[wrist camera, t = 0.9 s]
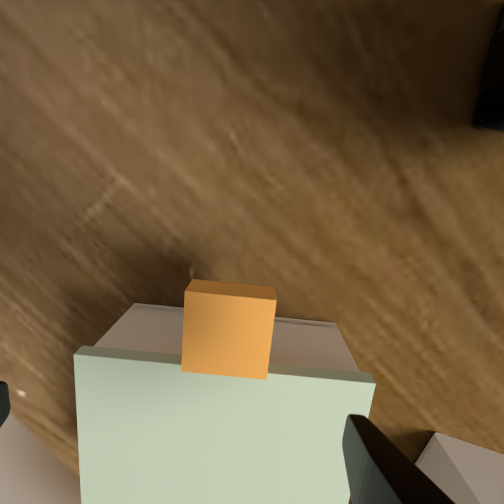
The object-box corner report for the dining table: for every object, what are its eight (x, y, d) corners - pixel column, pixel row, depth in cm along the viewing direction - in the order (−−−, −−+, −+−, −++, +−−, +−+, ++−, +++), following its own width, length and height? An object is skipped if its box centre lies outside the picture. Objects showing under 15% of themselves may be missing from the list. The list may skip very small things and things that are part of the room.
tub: (334, 322, 22) (362, 377, 16) (312, 449, 24) (328, 536, 19) (134, 302, 22) (88, 351, 16) (134, 432, 24) (95, 514, 18)
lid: (378, 292, 16) (397, 312, 13) (329, 522, 20) (338, 567, 17) (90, 264, 16) (62, 279, 13) (98, 500, 20) (78, 542, 17)
